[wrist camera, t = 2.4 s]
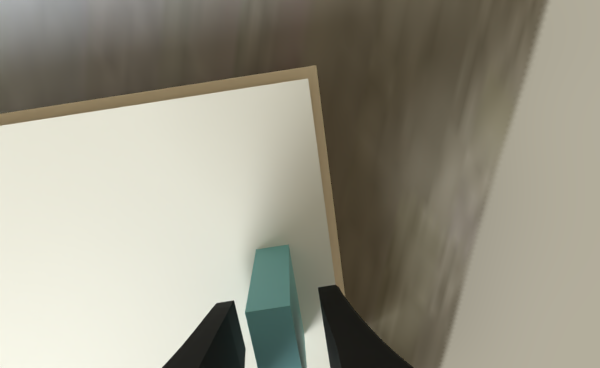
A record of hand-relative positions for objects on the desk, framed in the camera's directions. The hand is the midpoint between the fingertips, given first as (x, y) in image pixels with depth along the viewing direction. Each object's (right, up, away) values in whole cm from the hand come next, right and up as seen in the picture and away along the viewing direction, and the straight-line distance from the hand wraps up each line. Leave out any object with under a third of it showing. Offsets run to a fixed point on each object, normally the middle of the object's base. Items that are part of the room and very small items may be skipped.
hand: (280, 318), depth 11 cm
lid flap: (-7, -1, +2) cm, 8 cm away
